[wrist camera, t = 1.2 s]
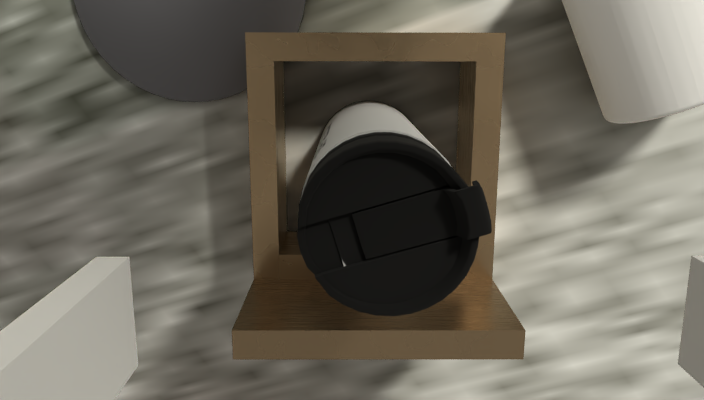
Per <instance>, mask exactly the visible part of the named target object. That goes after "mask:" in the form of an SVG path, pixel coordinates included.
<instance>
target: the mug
mask: <svg viewBox="0 0 704 400" xmlns="http://www.w3.org/2000/svg"><path fill="white" fill-rule="evenodd" d="M562 2H563V5H564V8H565V11H566V14H567V16H568V19H569V22H570V25H571V28H572V30H573V33H574V36H575V39H576V41H577V44H578V47H579V50H580V53H581V55H582V58H583V61H584V64H585V67H586V69H587V72H588V75H589V78H590V81H591V83H592V86H593V89H594V92H595V94H596V97H597V100H598V103H599V106H600V108H601V111H602V114H603V117H604V118H605V119H606V120H607V121H609V122H612V123H619V124H625V123H636V122H643V121H648V120H653V119H657V118H662V117H666V116H669V115H673V114H676V113H680V112H683V111H686V110H689V109H692V108H695V107H698V106H700V105H703V104H704V0H562Z"/></svg>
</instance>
